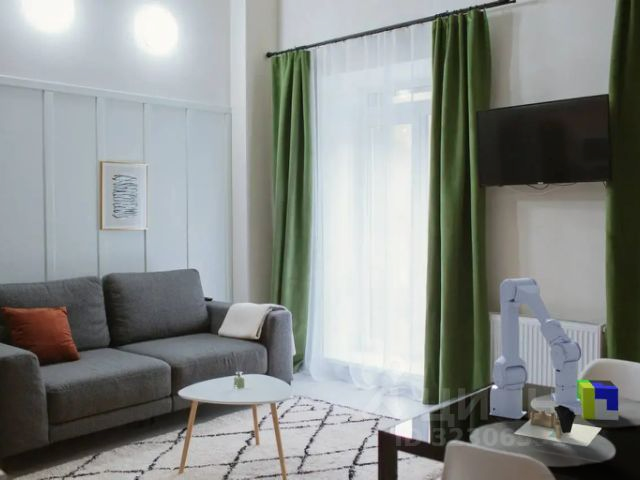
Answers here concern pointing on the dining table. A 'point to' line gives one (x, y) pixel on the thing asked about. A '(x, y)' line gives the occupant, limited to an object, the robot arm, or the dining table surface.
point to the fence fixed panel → (543, 419)
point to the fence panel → (558, 427)
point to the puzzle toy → (598, 399)
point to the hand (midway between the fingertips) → (566, 432)
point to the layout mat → (577, 436)
